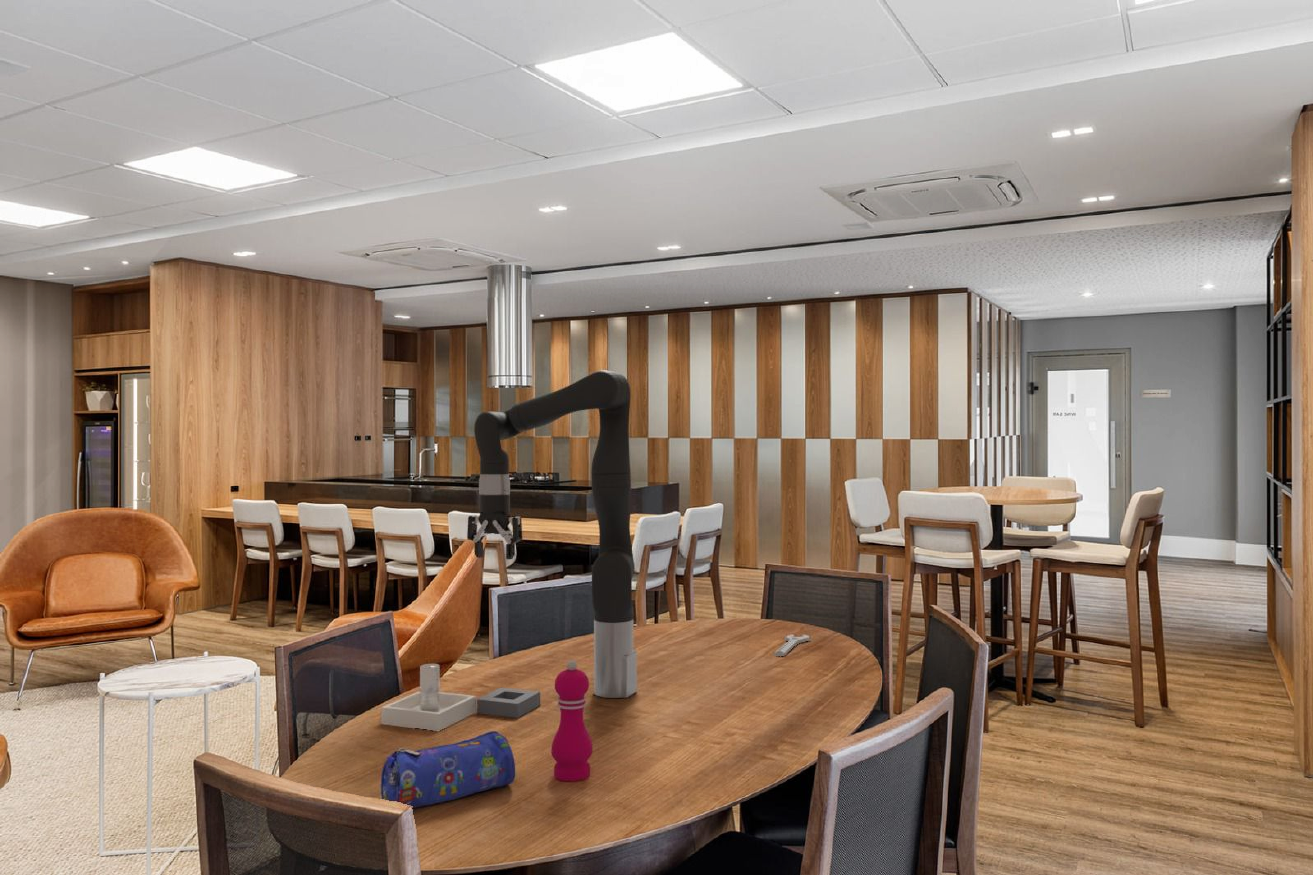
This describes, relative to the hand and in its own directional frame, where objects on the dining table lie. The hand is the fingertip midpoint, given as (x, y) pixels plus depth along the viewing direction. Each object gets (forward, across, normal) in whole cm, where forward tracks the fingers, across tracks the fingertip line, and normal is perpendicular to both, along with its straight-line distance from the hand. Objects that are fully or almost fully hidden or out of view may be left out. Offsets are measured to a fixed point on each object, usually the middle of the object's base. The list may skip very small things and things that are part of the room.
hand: (494, 558), depth 219 cm
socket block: (+30, +16, -20) cm, 39 cm away
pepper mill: (+30, +46, -50) cm, 74 cm away
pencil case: (+30, +31, -66) cm, 79 cm away
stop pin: (+29, +3, -31) cm, 43 cm away
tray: (+30, +3, -31) cm, 43 cm away
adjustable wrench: (+31, +59, +62) cm, 91 cm away
